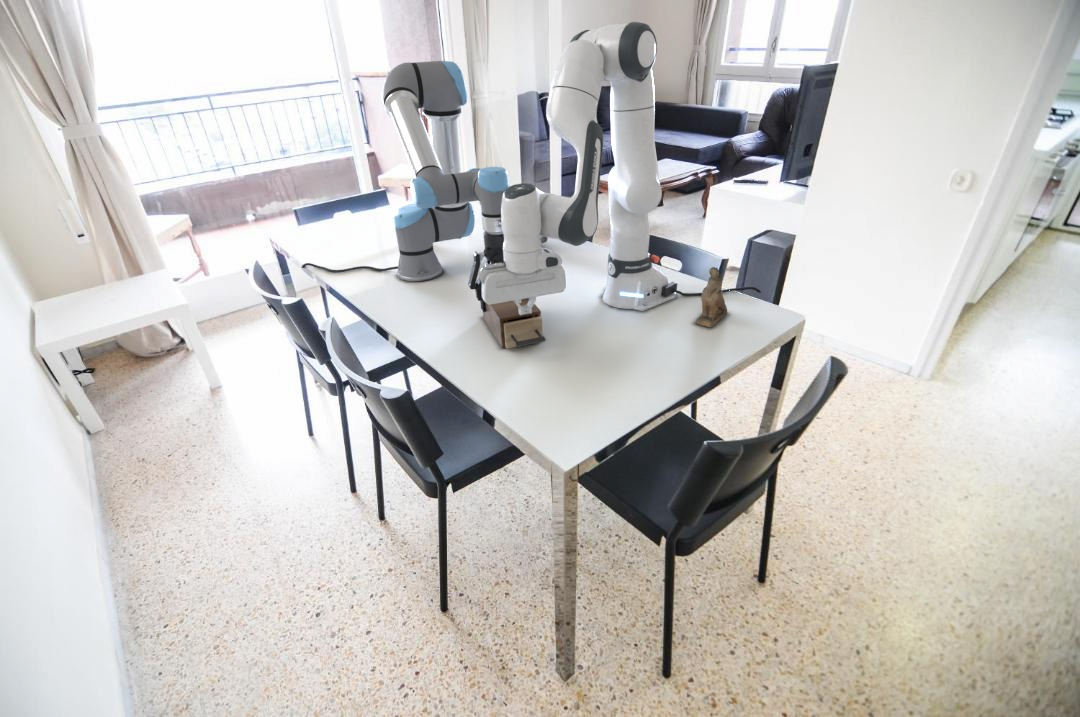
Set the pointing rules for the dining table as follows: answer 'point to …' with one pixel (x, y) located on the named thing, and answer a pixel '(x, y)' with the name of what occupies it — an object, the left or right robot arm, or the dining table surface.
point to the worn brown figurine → (712, 301)
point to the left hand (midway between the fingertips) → (503, 306)
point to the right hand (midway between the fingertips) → (525, 313)
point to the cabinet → (505, 316)
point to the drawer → (523, 331)
